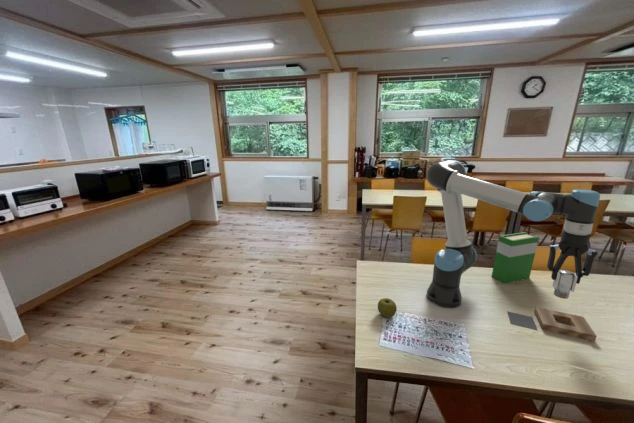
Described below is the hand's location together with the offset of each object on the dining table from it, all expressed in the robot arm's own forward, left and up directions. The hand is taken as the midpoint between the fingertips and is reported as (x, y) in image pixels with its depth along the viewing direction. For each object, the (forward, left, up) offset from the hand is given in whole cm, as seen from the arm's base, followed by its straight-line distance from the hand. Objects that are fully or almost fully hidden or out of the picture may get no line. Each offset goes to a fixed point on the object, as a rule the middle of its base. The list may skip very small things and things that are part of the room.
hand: (562, 288), depth 106 cm
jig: (+3, +1, -18) cm, 18 cm away
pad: (-11, -2, -18) cm, 21 cm away
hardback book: (-9, +38, -18) cm, 43 cm away
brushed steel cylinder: (0, 0, -3) cm, 3 cm away
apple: (-63, -22, -18) cm, 69 cm away
